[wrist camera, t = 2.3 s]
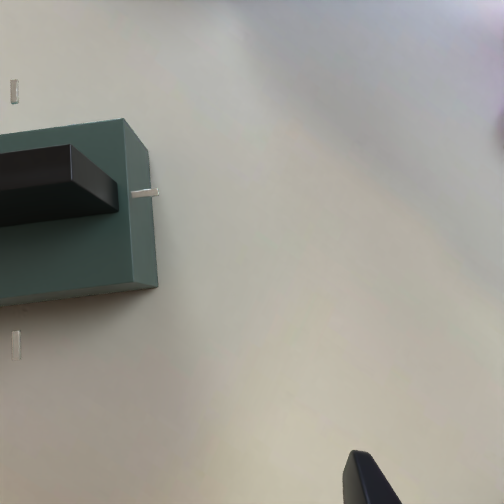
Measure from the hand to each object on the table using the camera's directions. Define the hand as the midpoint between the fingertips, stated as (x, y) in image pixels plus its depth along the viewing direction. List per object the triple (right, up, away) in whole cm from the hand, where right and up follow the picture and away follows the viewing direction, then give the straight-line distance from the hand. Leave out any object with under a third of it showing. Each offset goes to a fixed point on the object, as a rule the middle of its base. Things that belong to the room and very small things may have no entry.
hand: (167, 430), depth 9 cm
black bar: (-10, +7, +10) cm, 16 cm away
